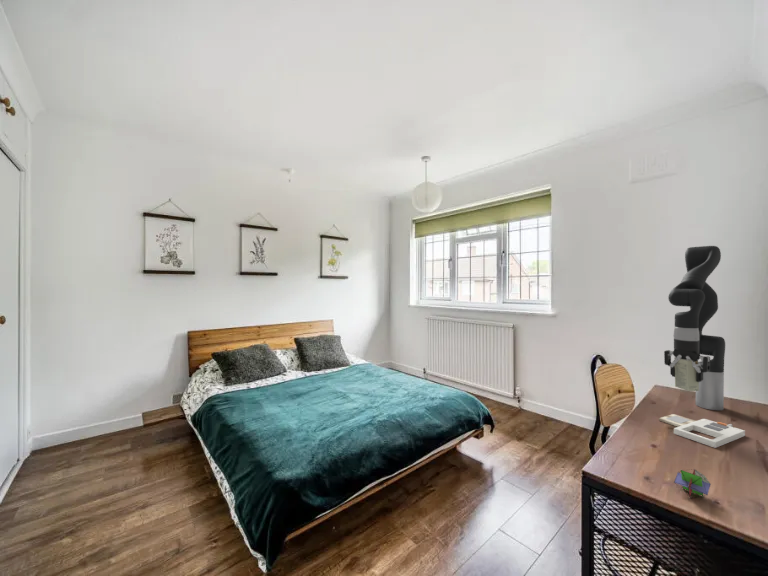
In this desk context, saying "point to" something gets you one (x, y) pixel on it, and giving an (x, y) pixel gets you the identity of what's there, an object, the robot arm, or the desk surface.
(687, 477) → the geometric puzzle
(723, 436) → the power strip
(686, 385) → the skincare box
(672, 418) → the cream flat rectangular plate
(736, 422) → the desk surface
